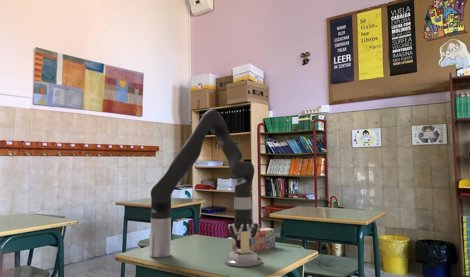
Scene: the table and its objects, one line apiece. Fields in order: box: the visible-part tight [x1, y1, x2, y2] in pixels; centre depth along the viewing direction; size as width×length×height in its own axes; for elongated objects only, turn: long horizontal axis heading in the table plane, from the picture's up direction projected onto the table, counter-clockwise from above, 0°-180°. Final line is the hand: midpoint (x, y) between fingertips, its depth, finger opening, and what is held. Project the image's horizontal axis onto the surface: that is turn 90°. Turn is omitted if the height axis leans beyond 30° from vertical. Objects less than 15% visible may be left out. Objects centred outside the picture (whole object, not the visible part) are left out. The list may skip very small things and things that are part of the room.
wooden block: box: [237, 231, 249, 255], centre depth 158 cm, size 4×4×10 cm
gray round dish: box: [223, 250, 263, 268], centre depth 158 cm, size 16×16×4 cm
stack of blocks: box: [231, 224, 276, 252], centre depth 184 cm, size 21×6×12 cm, turn 119°
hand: (243, 247), depth 158 cm, fingers closed on wooden block, 4 cm apart
